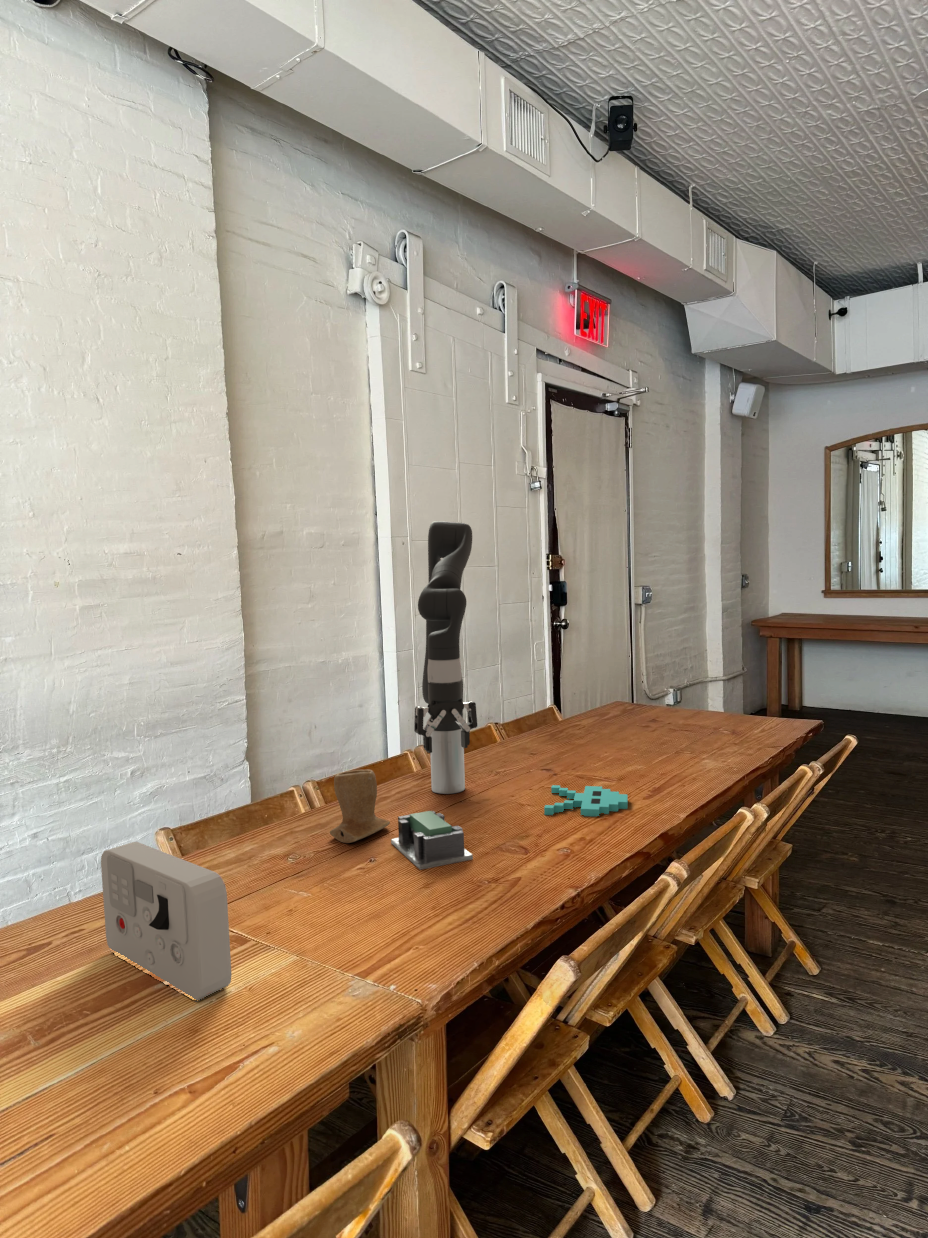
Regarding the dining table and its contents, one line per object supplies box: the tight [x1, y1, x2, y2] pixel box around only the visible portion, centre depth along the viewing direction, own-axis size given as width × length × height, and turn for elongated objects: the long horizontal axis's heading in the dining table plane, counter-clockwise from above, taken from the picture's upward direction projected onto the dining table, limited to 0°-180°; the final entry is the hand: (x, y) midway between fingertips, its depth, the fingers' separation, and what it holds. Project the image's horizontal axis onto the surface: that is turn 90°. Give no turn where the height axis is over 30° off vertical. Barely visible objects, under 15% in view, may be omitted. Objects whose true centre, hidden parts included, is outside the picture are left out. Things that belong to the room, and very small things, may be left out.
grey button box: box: [100, 841, 232, 1001], centre depth 131 cm, size 29×8×18 cm, turn 50°
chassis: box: [390, 810, 474, 870], centre depth 182 cm, size 18×12×6 cm, turn 24°
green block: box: [409, 810, 452, 837], centre depth 182 cm, size 12×5×3 cm, turn 24°
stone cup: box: [329, 769, 391, 844], centre depth 195 cm, size 15×12×15 cm
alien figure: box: [543, 784, 629, 817], centre depth 213 cm, size 20×2×20 cm
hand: (446, 749), depth 187 cm, fingers open, 8 cm apart
